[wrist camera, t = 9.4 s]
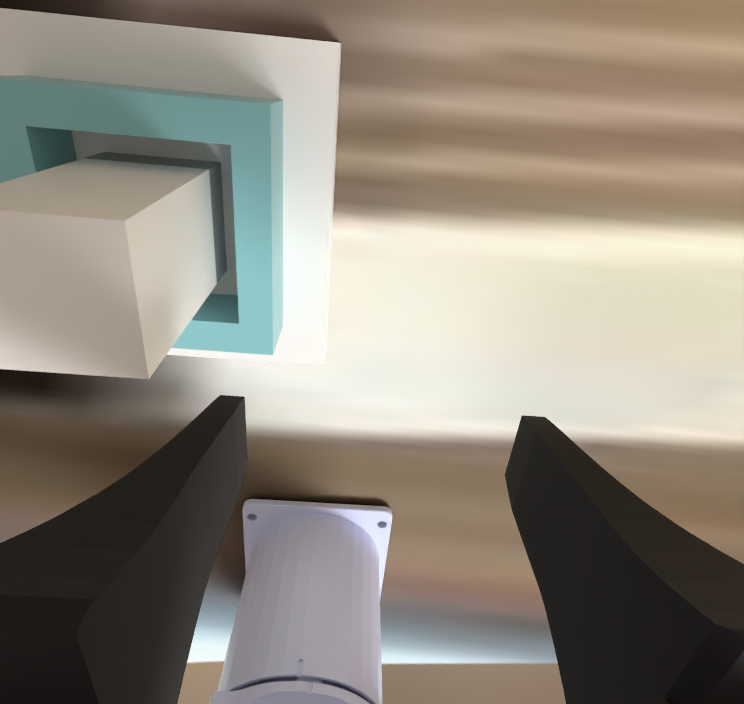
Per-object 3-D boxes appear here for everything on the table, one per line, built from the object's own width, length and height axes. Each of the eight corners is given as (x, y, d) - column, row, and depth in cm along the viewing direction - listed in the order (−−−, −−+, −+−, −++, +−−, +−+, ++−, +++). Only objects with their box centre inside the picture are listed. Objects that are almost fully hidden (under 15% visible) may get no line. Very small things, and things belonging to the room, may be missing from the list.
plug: (226, 269, 20) (149, 378, 13) (122, 261, 19) (-16, 368, 12) (220, 162, 18) (125, 220, 11) (105, 151, 17) (-70, 204, 10)
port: (326, 354, 23) (319, 398, 20) (53, 334, 22) (2, 377, 19) (341, 44, 17) (335, 37, 14) (-29, 6, 16) (-121, -10, 13)
